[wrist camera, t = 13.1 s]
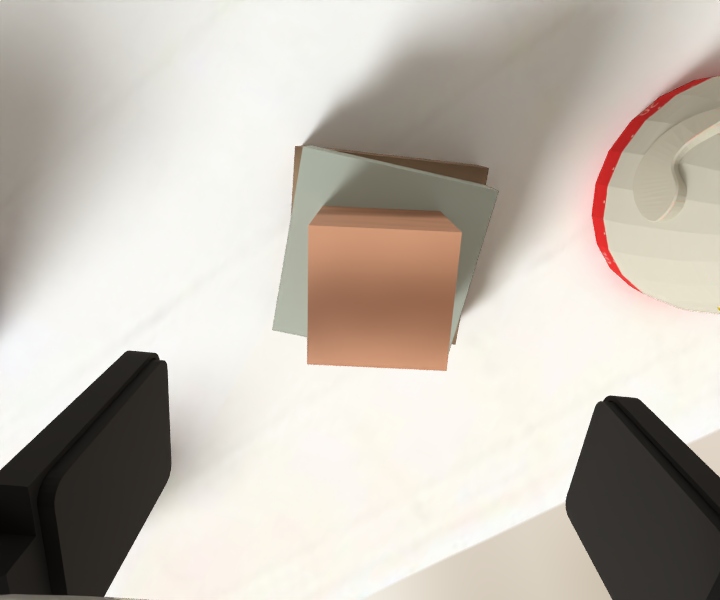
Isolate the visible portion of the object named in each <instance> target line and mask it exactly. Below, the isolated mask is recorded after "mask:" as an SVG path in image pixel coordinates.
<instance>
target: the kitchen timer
mask: <svg viewBox="0 0 720 600" xmlns="http://www.w3.org/2000/svg"><path fill="white" fill-rule="evenodd" d="M592 219H593V225H594V231H595V236H596V242H597V245H598V247H599V249H600V251H601V252H602V254H603V256H604V258H605V260H606V262H607V263H608V265H609V267H610V268H611V269H612V270H613V271H614V272H615V273H616V274H617V275H618V276H619V277H621V278H622V279H623V280H624V281H625V282H626V283H627V284H628V285H629V286H631V287H633V288H634V289H636V290H638V291H640V292H641V293H643V294H645V295H648V296H650V297H652V298H655V299H657V300H659V301H662V302H664V303H666V304H669V305H671V306H674V307H676V308H680V309H684V310H689V311H696V312H705V313H714V314H720V76H715V77H710V78H704V79H699V80H694V81H692V82H690V83H688V84H686V85H684V86H681V87H679V88H677V89H675V90H673V91H671V92H669V93H667V94H665V95H663V96H661V97H659V98H658V99H657V100H656V101H655V102H653V103H652V104H651V105H650V106H649V107H647V108H646V109H645V110H644V111H643V112H641V113H640V114H639V115H638V116H637V117H636V118H634V119H633V120H632V121H631V122H630V123H629V125H628V126H627V127H626V129H625V130H624V131H623V133H622V134H621V135H620V137H619V138H618V139H617V141H616V142H615V144H614V145H613V146H612V148H611V149H610V150H609V152H608V154H607V157H606V159H605V162H604V164H603V167H602V169H601V172H600V174H599V176H598V179H597V181H596V185H595V193H594V201H593V209H592Z"/></svg>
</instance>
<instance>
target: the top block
mask: <svg viewBox="0 0 720 600" xmlns="http://www.w3.org/2000/svg"><path fill="white" fill-rule="evenodd" d="M498 192H499V191H498V190H495V189H493V188H490V187H488V186H486V185H483V184H479V183H474V182H470V181H466V180H461V179H457V178H452V177H448V176H444V175H439V174H435V173H431V172H426V171H422V170H417V169H413V168H409V167H404V166H400V165H395V164H391V163H387V162H382V161H378V160H373V159H369V158H365V157H360V156H356V155H351V154H347V153H343V152H338V151H334V150H329V149H325V148H321V147H316V146H312V145H311V146H303V149H302V155H301V161H300V167H299V173H298V179H297V185H296V191H295V197H294V203H293V209H292V215H291V221H290V227H289V233H288V239H287V244H286V250H285V256H284V262H283V268H282V274H281V280H280V286H279V292H278V298H277V304H276V310H275V316H274V322H273V328H272V330H275V331H280V332H284V333H289V334H294V335H299V336H304V337H307V329H308V225H309V224H310V222H311V221H312V220H313V218H314V217H315V216H316V214H317V213H318V212H319V210H320V209H321V208H322V206H338V207H360V208H382V209H404V210H426V211H441V212H442V213H443V214H444V215H445V216H446V217H447V218H448V219H449V220H450V221H451V222H452V223H453V224H454V225H455V226H456V227H457V228H458V229H459V230H460V231H461V232H462V236H461V245H460V254H459V263H458V272H457V281H456V290H455V299H454V308H453V317H452V326H451V335H450V344H449V351H450V348H451V344H452V341H453V338H454V335H455V331H456V328H457V325H458V322H459V318H460V315H461V312H462V309H463V305H464V302H465V299H466V296H467V292H468V289H469V286H470V283H471V279H472V276H473V273H474V270H475V266H476V263H477V260H478V257H479V253H480V250H481V247H482V244H483V240H484V237H485V234H486V231H487V227H488V224H489V221H490V218H491V214H492V211H493V208H494V205H495V201H496V198H497V195H498ZM448 354H449V353H448Z"/></svg>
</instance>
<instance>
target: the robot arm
mask: <svg viewBox="0 0 720 600" xmlns="http://www.w3.org/2000/svg"><path fill="white" fill-rule="evenodd" d="M170 471H171V444H170V419H169V395H168V370H167V363H166V362H165V361H163V360H159V356H158V355H157V354H156V353H150V352H139V351H127V352H125V353H124V354H123V355H122V356H121V357H120V358H119V359H118V360H117V361H115V362H114V363H113V364H112V365H111V366H110V367H109V368H108V369H107V370H106V371H105V372H104V373H103V374H102V375H101V376H100V377H98V378H97V379H96V380H95V381H94V382H93V383H92V384H91V385H90V386H89V387H88V388H87V389H86V390H85V391H84V392H83V393H82V394H80V395H79V396H78V397H77V398H76V399H75V400H74V401H73V402H72V403H71V404H70V405H69V406H68V407H67V408H66V409H65V410H64V411H62V412H61V413H60V414H59V415H58V416H57V417H56V418H55V419H54V420H53V421H52V422H51V423H50V424H49V425H48V426H47V427H46V428H44V429H43V430H42V431H41V432H40V433H39V434H38V435H37V436H36V437H35V438H34V439H33V440H32V441H31V442H30V443H29V444H28V445H26V446H25V447H24V448H23V449H22V450H21V451H20V452H19V453H18V454H17V455H16V456H15V457H14V458H13V459H12V460H11V461H10V462H8V463H7V464H6V465H5V466H4V467H3V468H2V469H1V470H0V600H147V599H129V598H112V597H104V596H105V594H106V592H107V590H108V589H109V587H110V585H111V583H112V581H113V579H114V578H115V576H116V574H117V572H118V570H119V569H120V567H121V565H122V563H123V561H124V559H125V558H126V556H127V554H128V552H129V550H130V549H131V547H132V545H133V543H134V541H135V540H136V538H137V536H138V534H139V532H140V530H141V529H142V527H143V525H144V523H145V521H146V520H147V518H148V516H149V514H150V512H151V510H152V509H153V507H154V505H155V503H156V501H157V500H158V498H159V496H160V494H161V492H162V491H163V489H164V487H165V485H166V483H167V481H168V479H169V476H170ZM566 511H567V515H568V517H569V519H570V521H571V523H572V525H573V526H574V528H575V530H576V532H577V534H578V536H579V538H580V540H581V541H582V543H583V545H584V547H585V549H586V551H587V553H588V555H589V557H590V558H591V560H592V562H593V564H594V566H595V567H596V570H597V572H598V573H599V575H600V577H601V579H602V581H603V583H604V585H605V587H606V588H607V590H608V592H609V594H610V596H611V598H612V600H720V477H719V476H718V475H717V474H715V472H713V470H711V469H710V468H709V467H708V466H707V465H706V464H705V463H704V462H703V461H702V460H701V459H700V458H699V457H698V456H697V455H696V454H695V453H694V452H693V451H692V450H691V449H690V448H689V447H688V446H687V445H686V444H685V443H684V442H683V441H682V440H681V439H680V438H679V437H678V436H677V435H676V434H675V433H673V432H672V431H671V430H670V429H669V428H668V427H667V426H666V425H665V424H664V423H663V422H662V421H661V420H660V419H659V418H658V417H657V416H656V415H655V414H654V413H653V412H652V411H651V410H650V409H649V408H648V407H647V406H646V405H645V404H644V403H643V402H642V401H640V400H639V399H638V398H631V397H620V396H608V397H606V398H605V399H604V400H603V401H600V402H598V403H597V404H596V406H595V409H594V412H593V415H592V418H591V422H590V425H589V428H588V431H587V434H586V437H585V440H584V444H583V447H582V450H581V453H580V456H579V459H578V462H577V466H576V469H575V472H574V475H573V478H572V481H571V484H570V488H569V491H568V494H567V497H566Z"/></svg>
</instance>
